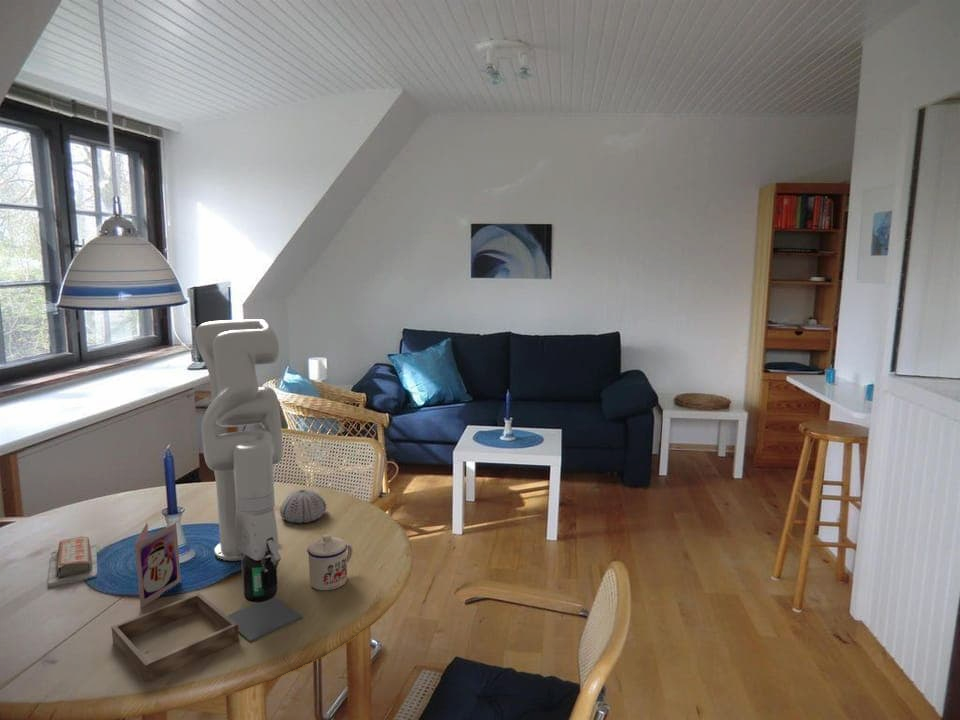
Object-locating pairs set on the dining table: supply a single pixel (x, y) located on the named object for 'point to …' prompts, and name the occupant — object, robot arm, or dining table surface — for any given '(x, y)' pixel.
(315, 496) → the sea urchin shell
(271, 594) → the supplement bottle
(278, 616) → the charcoal mat
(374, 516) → the dining table surface
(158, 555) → the greeting card
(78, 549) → the packaged product
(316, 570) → the teacup with lid
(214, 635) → the walnut box
